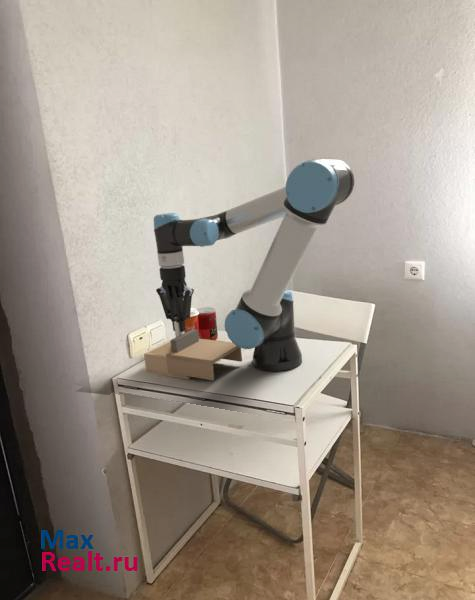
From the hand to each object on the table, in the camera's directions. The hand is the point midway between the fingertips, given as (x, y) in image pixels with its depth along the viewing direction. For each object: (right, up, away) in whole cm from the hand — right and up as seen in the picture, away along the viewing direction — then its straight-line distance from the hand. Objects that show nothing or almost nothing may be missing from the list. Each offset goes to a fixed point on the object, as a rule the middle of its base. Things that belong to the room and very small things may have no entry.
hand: (180, 341), depth 158 cm
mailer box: (0, -8, +3) cm, 9 cm away
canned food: (+7, -2, +28) cm, 29 cm away
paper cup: (+2, -5, +18) cm, 19 cm away
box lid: (+8, -8, -3) cm, 11 cm away
